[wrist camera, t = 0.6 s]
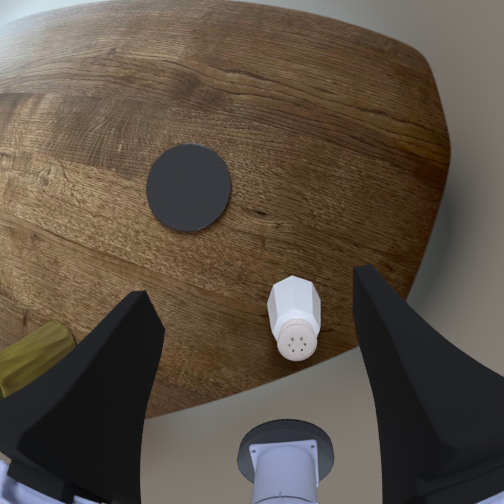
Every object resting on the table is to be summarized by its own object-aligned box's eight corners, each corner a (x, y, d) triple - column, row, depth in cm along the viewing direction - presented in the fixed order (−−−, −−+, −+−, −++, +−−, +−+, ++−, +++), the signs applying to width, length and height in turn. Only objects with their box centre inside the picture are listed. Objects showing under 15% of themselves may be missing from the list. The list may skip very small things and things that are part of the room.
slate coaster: (237, 224, 32) (236, 224, 32) (154, 237, 33) (152, 237, 33) (224, 136, 31) (223, 135, 31) (143, 154, 32) (141, 154, 32)
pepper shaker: (269, 327, 33) (261, 379, 22) (265, 277, 32) (254, 310, 22) (321, 324, 33) (335, 374, 22) (319, 273, 32) (335, 304, 21)
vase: (70, 319, 36) (-6, 361, 22) (82, 363, 37) (16, 415, 22) (39, 320, 37) (-33, 356, 22) (51, 360, 37) (-14, 405, 23)
